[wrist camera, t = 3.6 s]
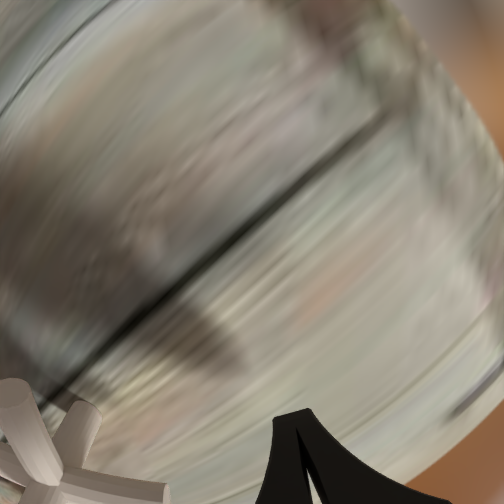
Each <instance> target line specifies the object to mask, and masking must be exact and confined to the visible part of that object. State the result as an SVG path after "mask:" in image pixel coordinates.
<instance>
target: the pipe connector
mask: <svg viewBox="0 0 504 504" xmlns="http://www.w3.org/2000/svg"><path fill="white" fill-rule="evenodd" d="M101 422H102V416H101V413H100V412H99V410H98V409H97V408H96V407H95V406H93V405H92V404H90V403H88V402H85V401H80V400H79V401H75V402H74V403H73V404H72V406H71V407H70V409H69V411H68V412H67V414H66V416H65V417H64V419H63V421H62V423H61V424H60V426H59V428H58V429H57V431H56V433H55V435H54V437H53V438H52V440H51V438H50V436H49V434H48V431H47V429H46V427H45V425H44V422H43V420H42V417H41V415H40V412H39V410H38V407H37V405H36V402H35V399H34V397H33V394H32V391H31V389H30V386H29V384H28V383H27V382H26V381H24V380H22V379H19V378H7V379H3V380H0V426H1V428H2V430H3V432H4V434H5V436H6V438H7V440H8V442H9V444H10V445H8V444H6V443H3V442H1V441H0V476H1V477H4V478H6V479H8V480H10V481H12V482H14V483H17V484H19V485H21V486H24V487H26V489H25V491H24V493H23V495H22V497H21V499H20V501H19V503H18V504H170V490H169V486H168V484H167V483H159V482H151V481H143V480H136V479H130V478H124V477H118V476H113V475H108V474H103V473H98V472H94V471H90V470H86V469H82V467H83V464H84V462H85V460H86V457H87V455H88V452H89V450H90V448H91V445H92V443H93V441H94V438H95V436H96V434H97V431H98V429H99V427H100V425H101Z"/></svg>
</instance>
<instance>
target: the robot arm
mask: <svg viewBox="0 0 504 504" xmlns="http://www.w3.org/2000/svg"><path fill="white" fill-rule="evenodd" d="M272 421H273V436H272V445H271V451H270V457H269V462H268V466H267V470H266V473H265V477H264V481H263V484H262V487H261V490H260V492H259V495H258V498H257V500H256V503H255V504H313V501H312V496H311V490H310V485H309V479H308V473H309V475H310V477H311V480H312V482H313V484H314V486H315V489H316V491H317V493H318V496H319V498H320V500H321V502H322V504H452V503H451V502H450V501H448V500H445V499H441V498H437V497H434V496H431V495H427V494H424V493H421V492H419V491H416V490H413V489H411V488H408V487H406V486H404V485H402V484H400V483H398V482H396V481H394V480H392V479H389V478H387V477H386V476H384V475H382V474H381V473H379V472H377V471H375V470H374V469H372V468H371V467H369V466H368V465H366V464H365V463H363V462H362V461H361V460H359V459H358V458H357V457H355V456H354V455H353V454H352V453H350V452H349V451H348V450H347V449H346V448H345V447H343V446H342V445H341V444H340V443H339V442H338V441H337V440H336V439H335V438H334V437H333V436H332V435H331V434H330V433H329V432H328V431H327V430H326V429H325V428H324V426H323V425H322V424H321V423H320V422H319V420H318V419H317V418H316V416H315V415H314V414H313V412H312V410H311V409H309V408H306V409H302V410H299V411H295V412H292V413H288V414H285V415H281V416H277V417H274V419H273V420H272ZM307 470H308V473H307Z"/></svg>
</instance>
